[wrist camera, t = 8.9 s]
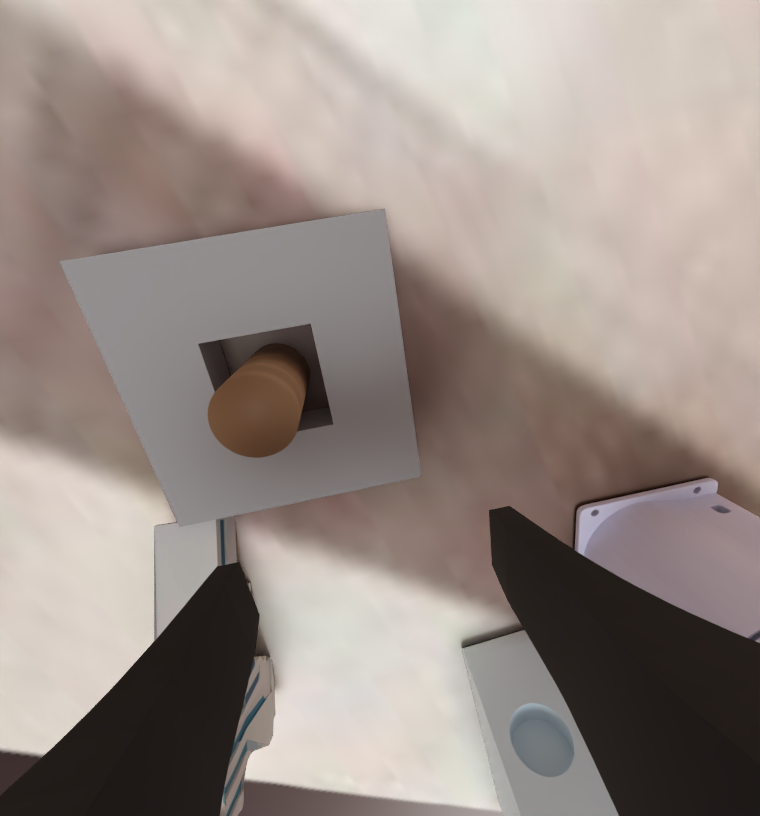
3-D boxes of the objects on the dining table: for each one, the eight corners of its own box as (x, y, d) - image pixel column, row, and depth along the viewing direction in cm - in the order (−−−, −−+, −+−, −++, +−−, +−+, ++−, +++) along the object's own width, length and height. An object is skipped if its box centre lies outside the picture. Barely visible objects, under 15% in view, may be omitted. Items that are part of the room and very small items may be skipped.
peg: (299, 337, 17) (282, 365, 12) (316, 393, 18) (309, 445, 13) (238, 352, 17) (192, 389, 12) (260, 408, 18) (227, 467, 13)
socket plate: (377, 218, 16) (384, 208, 14) (411, 453, 20) (421, 476, 18) (101, 263, 15) (59, 261, 13) (198, 497, 19) (179, 526, 17)
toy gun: (231, 732, 24) (143, 906, 14) (223, 509, 27) (145, 523, 17) (277, 724, 24) (222, 888, 14) (264, 504, 27) (212, 515, 17)
